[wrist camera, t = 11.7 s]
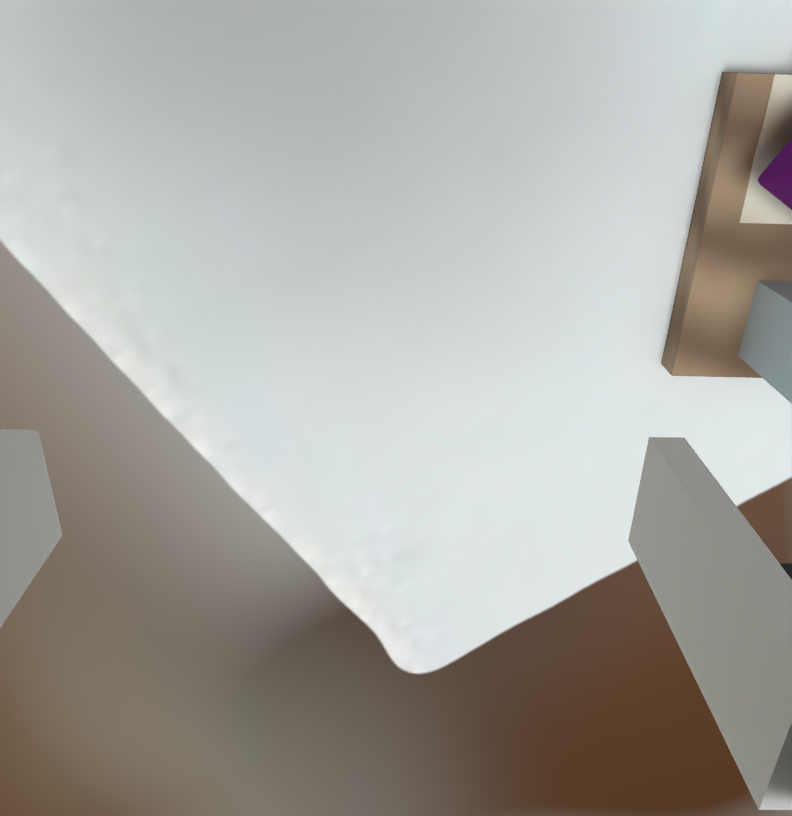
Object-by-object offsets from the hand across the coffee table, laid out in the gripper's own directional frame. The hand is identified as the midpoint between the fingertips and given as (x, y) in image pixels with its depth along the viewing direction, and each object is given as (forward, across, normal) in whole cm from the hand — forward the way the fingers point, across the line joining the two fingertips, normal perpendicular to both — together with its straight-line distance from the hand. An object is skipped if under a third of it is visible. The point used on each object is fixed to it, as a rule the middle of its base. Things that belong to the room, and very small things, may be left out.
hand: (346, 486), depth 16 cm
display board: (+32, +25, -1) cm, 41 cm away
